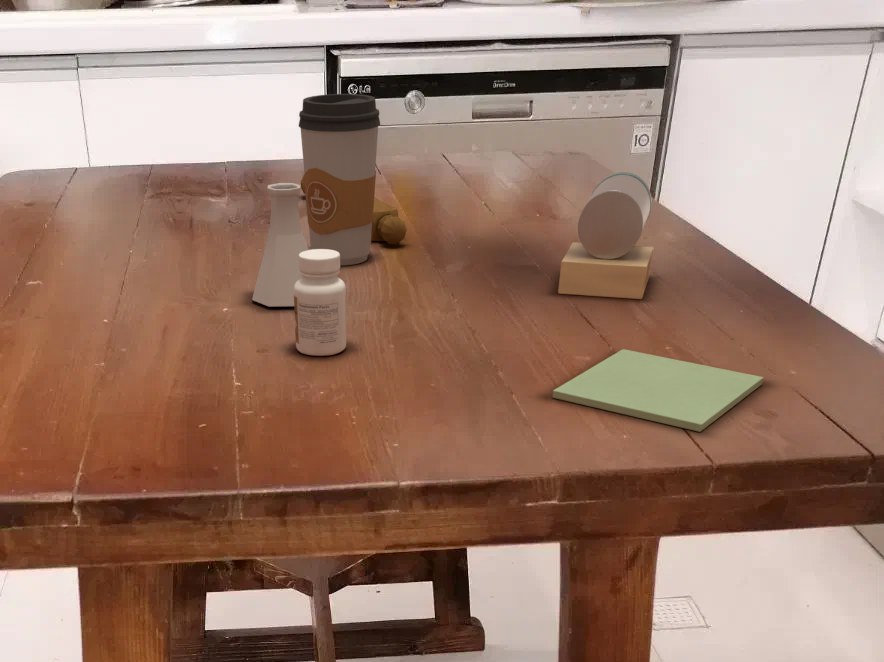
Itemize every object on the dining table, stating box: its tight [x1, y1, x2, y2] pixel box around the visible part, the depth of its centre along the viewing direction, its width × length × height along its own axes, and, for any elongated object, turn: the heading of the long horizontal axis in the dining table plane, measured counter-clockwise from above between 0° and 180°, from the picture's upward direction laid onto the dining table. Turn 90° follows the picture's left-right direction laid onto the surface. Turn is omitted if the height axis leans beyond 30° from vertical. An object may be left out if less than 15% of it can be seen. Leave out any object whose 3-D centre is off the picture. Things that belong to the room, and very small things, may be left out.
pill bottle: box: [293, 249, 347, 357], centre depth 93 cm, size 4×4×8 cm
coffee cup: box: [298, 93, 381, 266], centre depth 114 cm, size 8×8×15 cm
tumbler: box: [577, 171, 653, 259], centre depth 107 cm, size 9×6×6 cm
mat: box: [551, 348, 764, 433], centre depth 85 cm, size 12×12×1 cm
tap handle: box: [300, 175, 407, 245], centre depth 132 cm, size 3×3×30 cm
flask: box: [252, 182, 309, 307], centre depth 104 cm, size 7×7×10 cm
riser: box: [557, 241, 655, 300], centre depth 108 cm, size 8×8×3 cm
